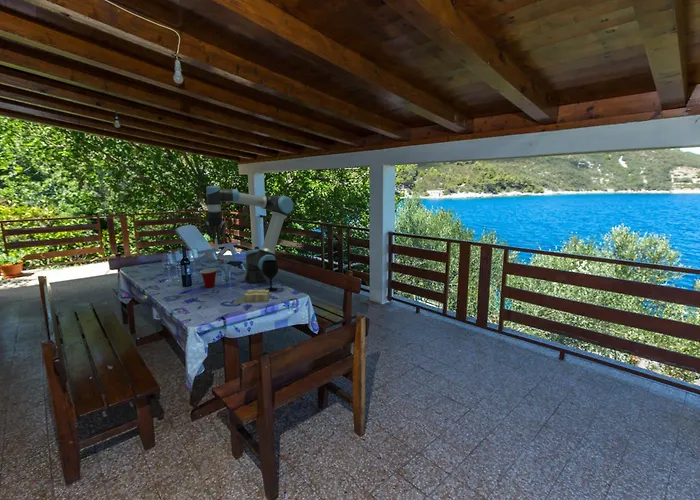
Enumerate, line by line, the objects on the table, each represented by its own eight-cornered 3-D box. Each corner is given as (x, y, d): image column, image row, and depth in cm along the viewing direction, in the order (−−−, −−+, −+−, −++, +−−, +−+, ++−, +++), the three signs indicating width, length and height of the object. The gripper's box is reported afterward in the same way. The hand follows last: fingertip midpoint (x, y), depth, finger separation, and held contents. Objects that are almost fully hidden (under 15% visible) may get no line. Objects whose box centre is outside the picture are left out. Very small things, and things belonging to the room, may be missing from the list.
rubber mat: (238, 296, 218) (238, 295, 218) (271, 295, 221) (271, 294, 221) (233, 304, 203) (233, 303, 203) (268, 303, 205) (268, 302, 205)
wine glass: (262, 293, 224) (261, 263, 221) (263, 288, 234) (262, 259, 231) (279, 292, 226) (278, 262, 223) (279, 287, 236) (278, 259, 233)
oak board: (247, 290, 215) (268, 289, 217) (247, 296, 216) (269, 295, 218) (244, 295, 206) (267, 294, 207) (245, 301, 206) (267, 300, 208)
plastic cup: (199, 286, 239) (197, 269, 237) (215, 283, 245) (214, 267, 243) (203, 290, 231) (202, 272, 228) (219, 287, 237) (218, 270, 235)
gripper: (201, 212, 209) (204, 250, 213) (223, 211, 210) (226, 250, 214) (205, 211, 216) (207, 248, 220) (226, 211, 217) (229, 247, 222)
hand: (217, 249), depth 217 cm, fingers closed
